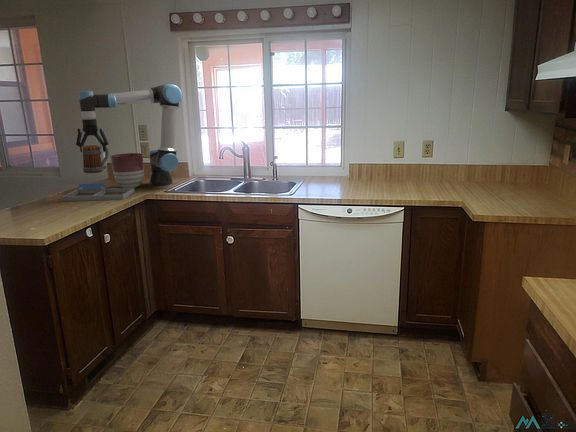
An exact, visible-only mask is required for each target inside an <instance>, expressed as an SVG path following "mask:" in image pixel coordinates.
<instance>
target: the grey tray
mask: <svg viewBox="0 0 576 432" xmlns="http://www.w3.org/2000/svg"><path fill="white" fill-rule="evenodd" d="M77 184H78V189H75V190H73V191H71V192H69V193H67V194H65V195H63V196H61V198H60V199H61V202H75V201H76V202H78V201H80V202H81V201H109V200H111V201H112V200H115V201H116V200H117V201H118V200H125V199H126V198H128V197H129V196H131V195H132V194H134V193H135V188H123V187H120V188H119V187H117V188H116V187H115V188H114V187H113V188H111V187H110V188H106V182H89V183H88V182H87V183H82V182H81V183H77ZM108 193H109V194H108ZM110 193H112V194H110ZM113 193H116V194H113ZM117 193H122V194H117ZM79 194H92V195H79Z"/></svg>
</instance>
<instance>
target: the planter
mask: <svg viewBox="0 0 576 432" xmlns="http://www.w3.org/2000/svg"><path fill="white" fill-rule="evenodd" d="M110 162H111V163H110V164H111V168H112V173H113V176H114V177H113V178H114V180H115V182H116V184H117V185H118V186H119V187H120V188H134V189H135V188H137V187H139V186H140V185H141V184H142V183H143V180H144V175H145V172H144V171H145V169H144V156H143V153H139V152H138V153H137V152H135V153H133V152H132V153H129V152H128V153H117V154H112V155H110Z"/></svg>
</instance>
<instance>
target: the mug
mask: <svg viewBox="0 0 576 432" xmlns="http://www.w3.org/2000/svg"><path fill="white" fill-rule="evenodd" d="M101 146H102V145H101V144H100V145H99V146H98V145H83V150H82V151H83V154H82V163H83V164H82V165H83V166H82V167H83V169H82V170H83V172H84V173H85V174H97V173H102V172H103V171H104V170H106V168H107V165H105V163H106V161H107V160H108V157H109V148H108V147H107V146H106V152H105V157H104V158H103V159H102V158H101V157H102V156H101V155H102V151H101Z"/></svg>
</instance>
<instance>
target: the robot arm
mask: <svg viewBox="0 0 576 432" xmlns="http://www.w3.org/2000/svg"><path fill="white" fill-rule="evenodd" d="M182 97H183V93H182V90H181V88H180V87H179V86H178V85H175V84H172V83H168V84H167V83H166V84H162V85H157V86H153V87H148V88H147V89H143V90H142V89H141V90H132V91H124V92H114V93H104V94H94V92H93V91H92V90H80V91H78V101H79V107H80V114H81V119H82V120H81V123H82V128H77V137H76V143H75V145H76V147H77V146H78V147H79V149H80V153H82V155H83V151H82V150H83V146H85V143H86V141H87V139H88V136H89V137H90V136H94V137H95V138H96V139H97V141H98V142H99V144H100V146H101V145H102V146H101V149H100V151H101V152H102V154H101V157H102V158H101V159H104V158H105V154H106V147H107V145H109V144H110V143H109V141H108V139H107V137H106V134H105V132H104V128H103V127H100V128H99V127H98V123H97V122H98V121H97V119H96V118H97V115H96V109H104V108H105V109H106V108H107V109H109V108H110V109H113V108H116V107H117V106H127V105H135V104H145V103H150V104H159V107H161V123H160V125H161V126H160V146H159V147H158V148H157V149H153V150H152V149H151V150H150V151H149V154H148V156H149V161H150V162H149V164H150V172H151V174H150V177H149V178H150V179H149V185H150V186H157V187H158V186H159V187H160V186H167V185H171V184H173V183H174V180H173V178H172V175H171V173H170V172H172V171H175V170H176V169H177V168H178V165H179V158H178V156H177V150H176V149H175V137H176V119H177V118H176V117H177V110H178V109H179V107H180V102H181V101H182V99H183V98H182ZM83 132H84V134H82V133H83ZM99 134H100V135H99ZM82 135H83V137H82Z"/></svg>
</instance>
